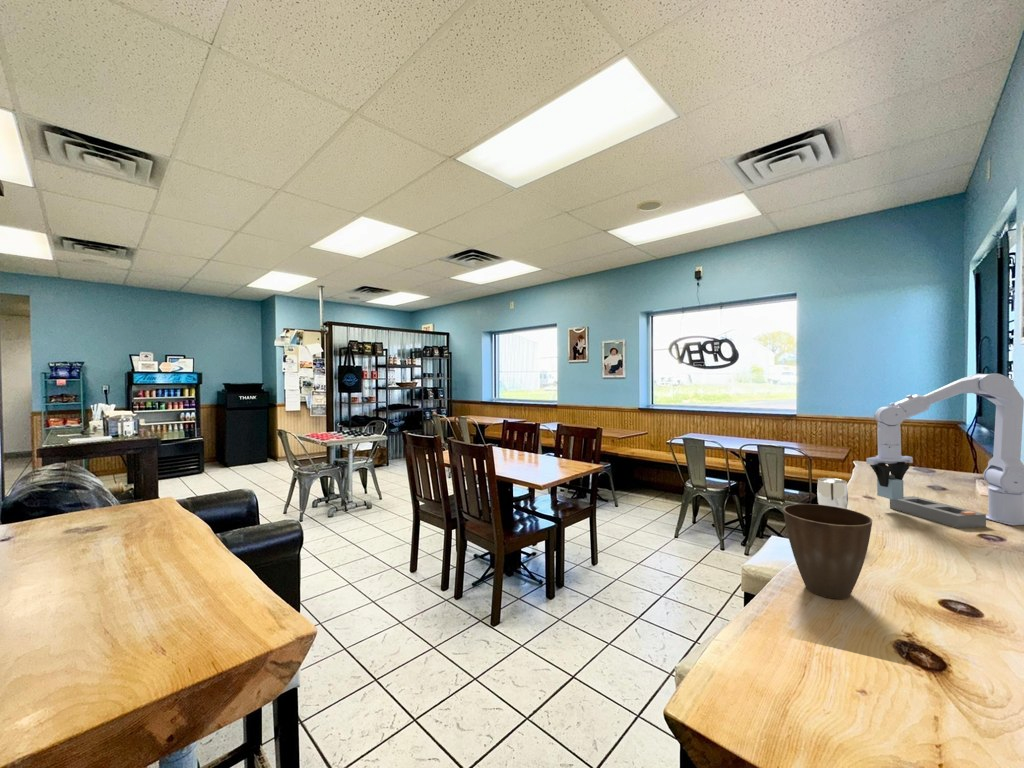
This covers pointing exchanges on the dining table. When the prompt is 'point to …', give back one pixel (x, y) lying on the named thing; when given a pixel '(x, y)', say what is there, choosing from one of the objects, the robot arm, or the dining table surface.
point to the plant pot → (828, 546)
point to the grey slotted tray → (939, 512)
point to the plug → (891, 489)
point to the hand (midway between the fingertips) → (890, 485)
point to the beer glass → (832, 492)
